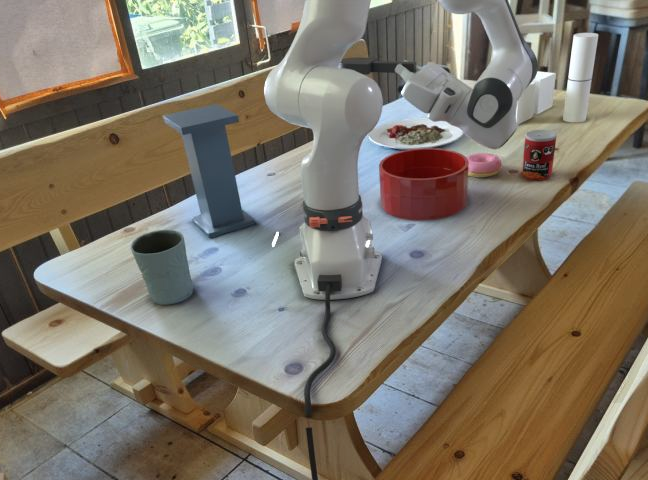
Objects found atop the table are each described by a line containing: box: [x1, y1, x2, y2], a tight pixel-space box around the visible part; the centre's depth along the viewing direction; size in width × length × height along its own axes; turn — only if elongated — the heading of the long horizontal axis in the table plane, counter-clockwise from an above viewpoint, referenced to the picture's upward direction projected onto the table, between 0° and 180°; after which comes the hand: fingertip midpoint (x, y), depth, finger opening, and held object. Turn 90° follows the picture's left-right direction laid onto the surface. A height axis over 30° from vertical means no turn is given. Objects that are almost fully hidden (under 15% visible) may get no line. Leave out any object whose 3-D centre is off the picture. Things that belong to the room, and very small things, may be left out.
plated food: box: [368, 117, 464, 151], centre depth 191 cm, size 30×30×3 cm
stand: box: [162, 103, 256, 239], centre depth 141 cm, size 13×13×26 cm
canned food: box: [521, 129, 557, 182], centre depth 157 cm, size 8×8×11 cm
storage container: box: [516, 70, 557, 126], centre depth 202 cm, size 25×11×11 cm, turn 139°
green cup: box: [130, 229, 194, 306], centre depth 118 cm, size 10×10×12 cm
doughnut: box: [466, 152, 503, 178], centre depth 163 cm, size 11×11×4 cm
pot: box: [378, 147, 469, 221], centre depth 148 cm, size 22×22×10 cm
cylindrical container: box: [562, 32, 599, 123], centre depth 189 cm, size 7×7×25 cm
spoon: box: [338, 56, 417, 76], centre depth 137 cm, size 18×7×2 cm, turn 69°
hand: (399, 65), depth 135 cm, fingers closed on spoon, 2 cm apart
